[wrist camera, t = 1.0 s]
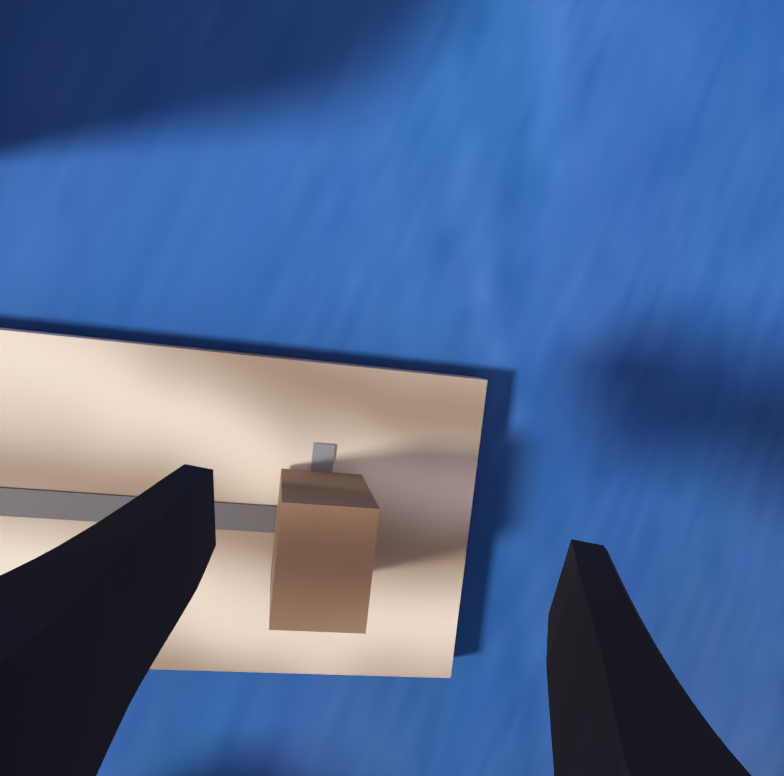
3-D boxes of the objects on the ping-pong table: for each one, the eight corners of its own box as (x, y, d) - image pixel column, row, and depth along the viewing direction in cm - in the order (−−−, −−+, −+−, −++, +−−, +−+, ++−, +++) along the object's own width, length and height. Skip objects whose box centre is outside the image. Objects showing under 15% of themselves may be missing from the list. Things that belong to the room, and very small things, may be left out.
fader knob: (350, 577, 27) (365, 633, 22) (270, 573, 26) (268, 629, 22) (361, 474, 27) (379, 508, 22) (281, 468, 26) (281, 502, 21)
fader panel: (441, 660, 30) (451, 679, 28) (-326, 634, 25) (-366, 655, 23) (476, 376, 29) (488, 380, 27) (-316, 294, 24) (-358, 293, 22)
